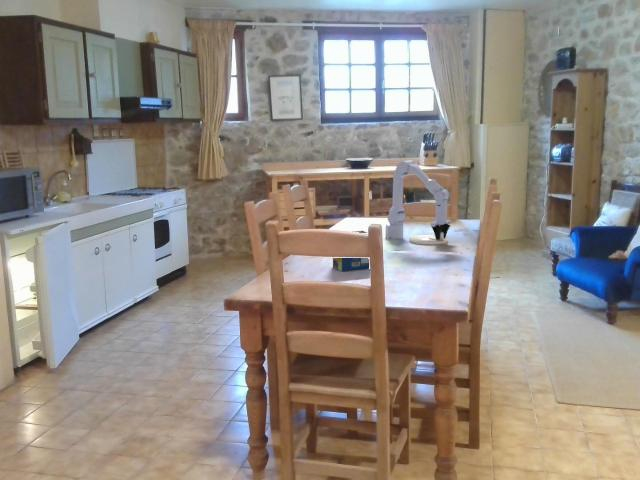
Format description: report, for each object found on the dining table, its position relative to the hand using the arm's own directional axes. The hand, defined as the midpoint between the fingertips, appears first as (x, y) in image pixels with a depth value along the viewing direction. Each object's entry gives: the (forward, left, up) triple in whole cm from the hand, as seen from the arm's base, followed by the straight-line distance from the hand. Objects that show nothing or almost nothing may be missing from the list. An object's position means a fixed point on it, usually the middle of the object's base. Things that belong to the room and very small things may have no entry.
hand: (440, 238), depth 316 cm
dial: (-4, +7, -2) cm, 8 cm away
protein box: (-53, -40, -4) cm, 67 cm away
